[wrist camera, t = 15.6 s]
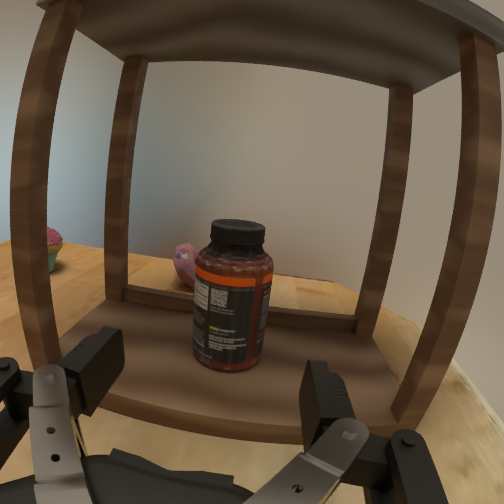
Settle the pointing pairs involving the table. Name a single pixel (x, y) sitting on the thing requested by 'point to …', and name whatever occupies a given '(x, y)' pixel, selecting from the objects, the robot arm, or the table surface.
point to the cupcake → (53, 246)
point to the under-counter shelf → (278, 319)
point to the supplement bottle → (231, 296)
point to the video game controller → (186, 263)
